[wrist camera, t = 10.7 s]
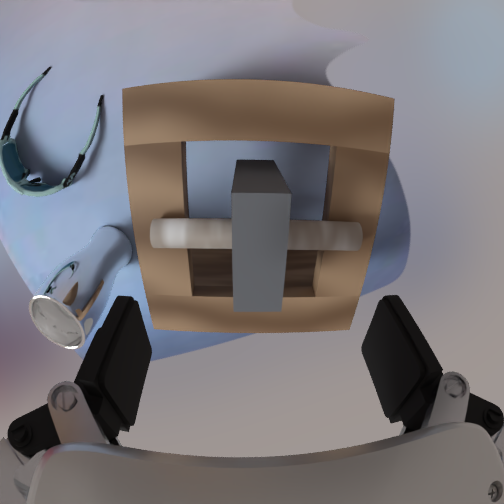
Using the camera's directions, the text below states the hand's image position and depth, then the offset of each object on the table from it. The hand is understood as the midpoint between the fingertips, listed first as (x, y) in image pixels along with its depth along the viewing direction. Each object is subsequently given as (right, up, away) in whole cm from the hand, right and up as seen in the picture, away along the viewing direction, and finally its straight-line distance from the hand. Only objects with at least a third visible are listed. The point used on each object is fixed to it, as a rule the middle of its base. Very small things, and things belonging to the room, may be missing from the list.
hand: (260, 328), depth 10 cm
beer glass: (-18, +4, +23) cm, 30 cm away
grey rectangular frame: (0, +7, +14) cm, 15 cm away
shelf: (0, +10, +20) cm, 22 cm away
